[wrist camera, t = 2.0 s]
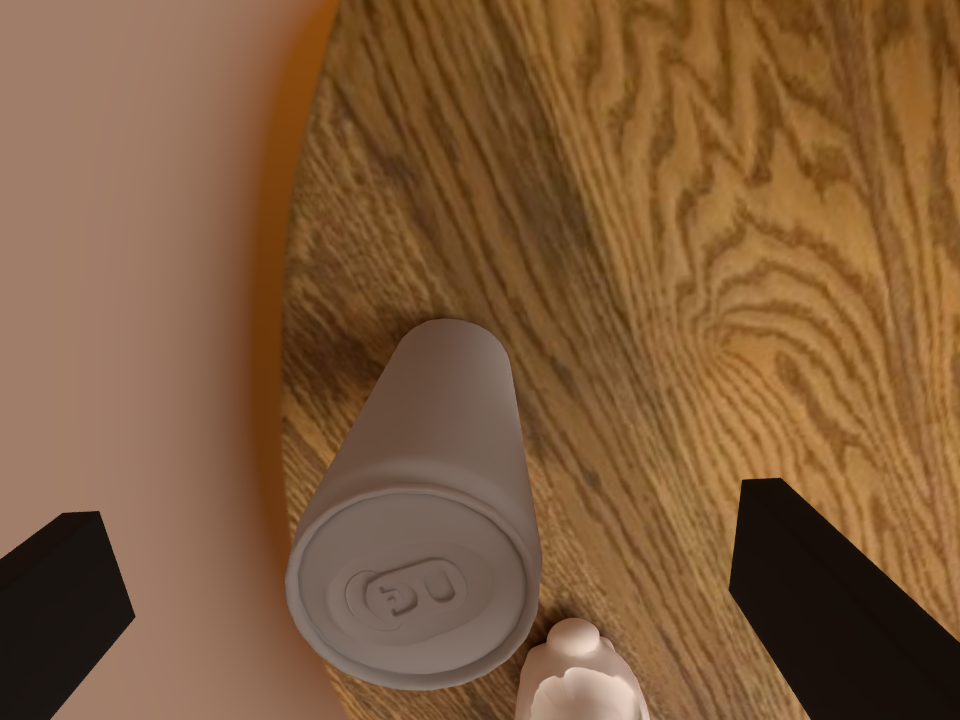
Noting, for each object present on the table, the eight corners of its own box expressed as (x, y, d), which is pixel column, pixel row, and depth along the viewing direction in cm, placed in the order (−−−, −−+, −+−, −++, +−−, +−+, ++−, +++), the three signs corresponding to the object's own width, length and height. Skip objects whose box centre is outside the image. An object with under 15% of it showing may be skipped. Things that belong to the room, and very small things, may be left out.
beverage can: (373, 337, 20) (224, 531, 8) (486, 295, 19) (492, 441, 8) (420, 438, 21) (347, 722, 10) (526, 402, 21) (581, 658, 9)
